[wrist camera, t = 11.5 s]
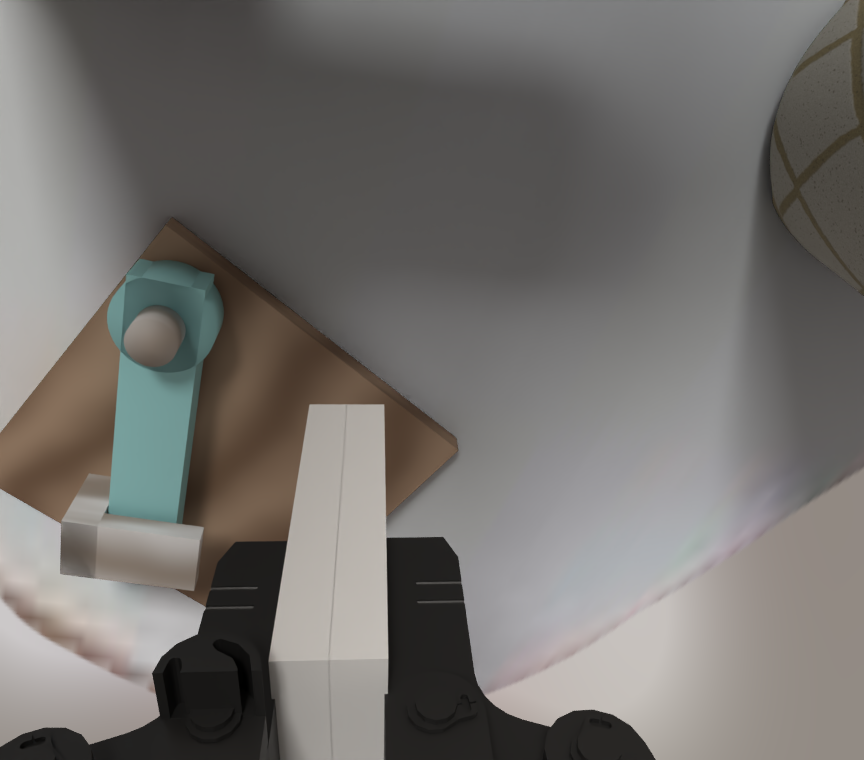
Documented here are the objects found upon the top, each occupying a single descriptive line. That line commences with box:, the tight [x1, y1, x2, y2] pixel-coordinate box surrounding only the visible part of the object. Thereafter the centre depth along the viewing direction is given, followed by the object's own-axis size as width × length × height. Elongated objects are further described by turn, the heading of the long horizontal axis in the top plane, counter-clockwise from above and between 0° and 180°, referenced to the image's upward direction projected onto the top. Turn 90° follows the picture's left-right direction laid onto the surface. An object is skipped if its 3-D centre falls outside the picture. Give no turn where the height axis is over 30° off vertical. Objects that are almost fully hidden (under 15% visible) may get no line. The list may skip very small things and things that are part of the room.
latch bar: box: [107, 259, 224, 524], centre depth 45 cm, size 20×6×2 cm, turn 166°
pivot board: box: [0, 217, 458, 606], centre depth 47 cm, size 22×21×7 cm
